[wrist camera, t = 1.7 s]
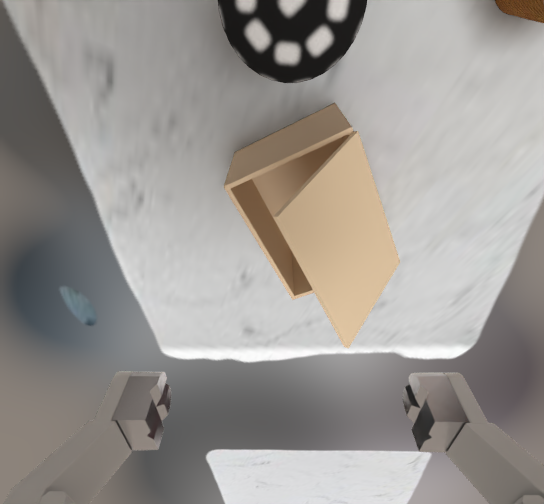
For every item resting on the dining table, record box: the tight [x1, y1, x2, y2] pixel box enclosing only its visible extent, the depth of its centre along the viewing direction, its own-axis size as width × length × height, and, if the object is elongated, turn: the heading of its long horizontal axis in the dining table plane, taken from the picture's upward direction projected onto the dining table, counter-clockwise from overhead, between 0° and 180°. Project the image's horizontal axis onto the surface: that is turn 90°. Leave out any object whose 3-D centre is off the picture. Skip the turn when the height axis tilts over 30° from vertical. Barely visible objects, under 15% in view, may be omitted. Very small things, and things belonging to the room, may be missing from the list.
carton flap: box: [273, 131, 400, 348], centre depth 32 cm, size 13×17×1 cm
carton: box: [224, 103, 353, 300], centre depth 42 cm, size 14×18×11 cm
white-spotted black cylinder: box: [218, 0, 367, 83], centre depth 26 cm, size 8×8×20 cm
